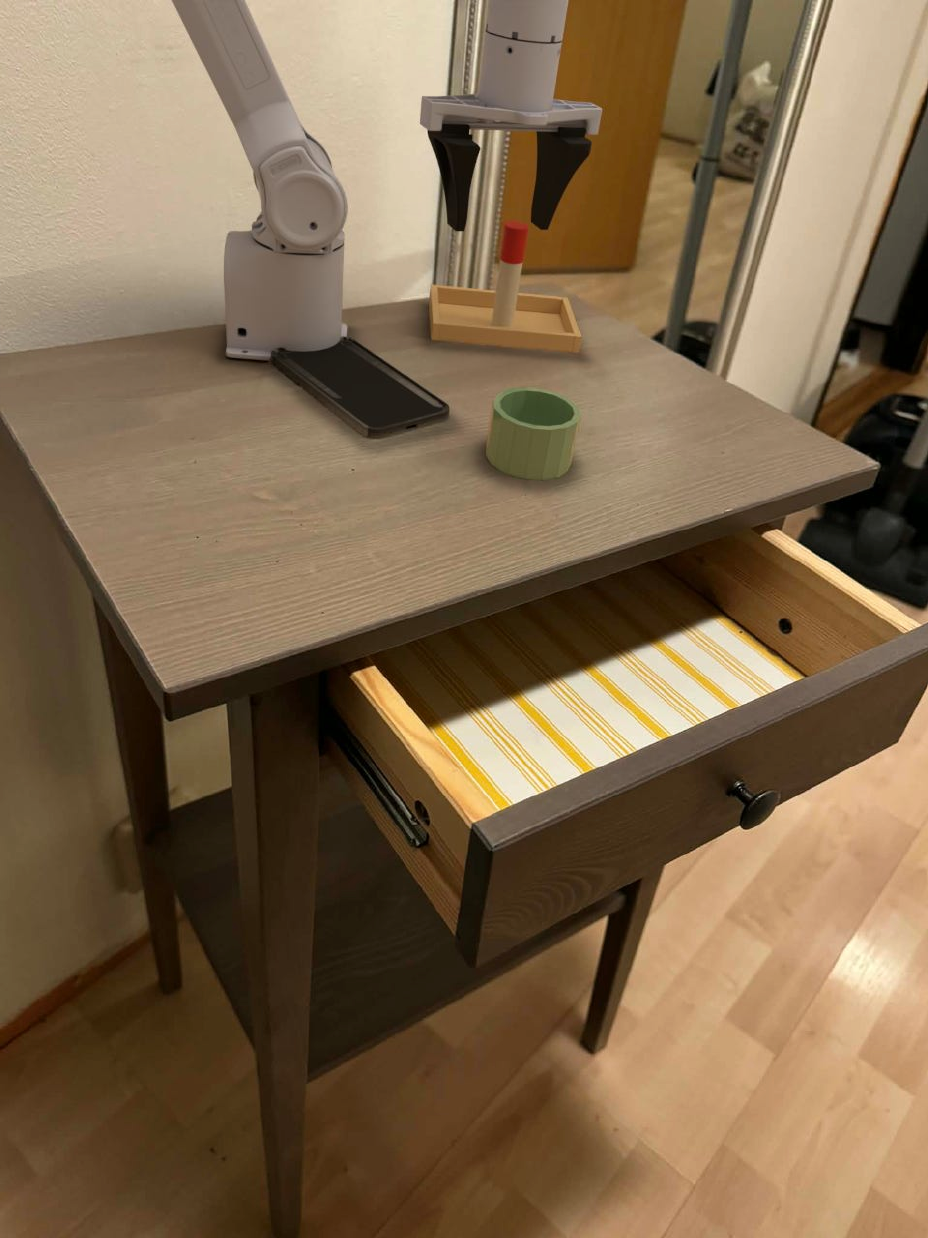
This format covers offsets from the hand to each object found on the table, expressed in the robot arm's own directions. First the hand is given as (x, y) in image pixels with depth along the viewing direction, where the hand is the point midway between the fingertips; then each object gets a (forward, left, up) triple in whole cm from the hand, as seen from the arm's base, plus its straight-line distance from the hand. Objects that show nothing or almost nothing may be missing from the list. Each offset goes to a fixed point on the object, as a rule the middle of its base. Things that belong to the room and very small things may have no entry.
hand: (498, 226), depth 78 cm
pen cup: (+2, -20, -10) cm, 23 cm away
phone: (-11, -11, -10) cm, 19 cm away
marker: (+2, +4, -10) cm, 11 cm away
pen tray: (+2, +4, -10) cm, 11 cm away
